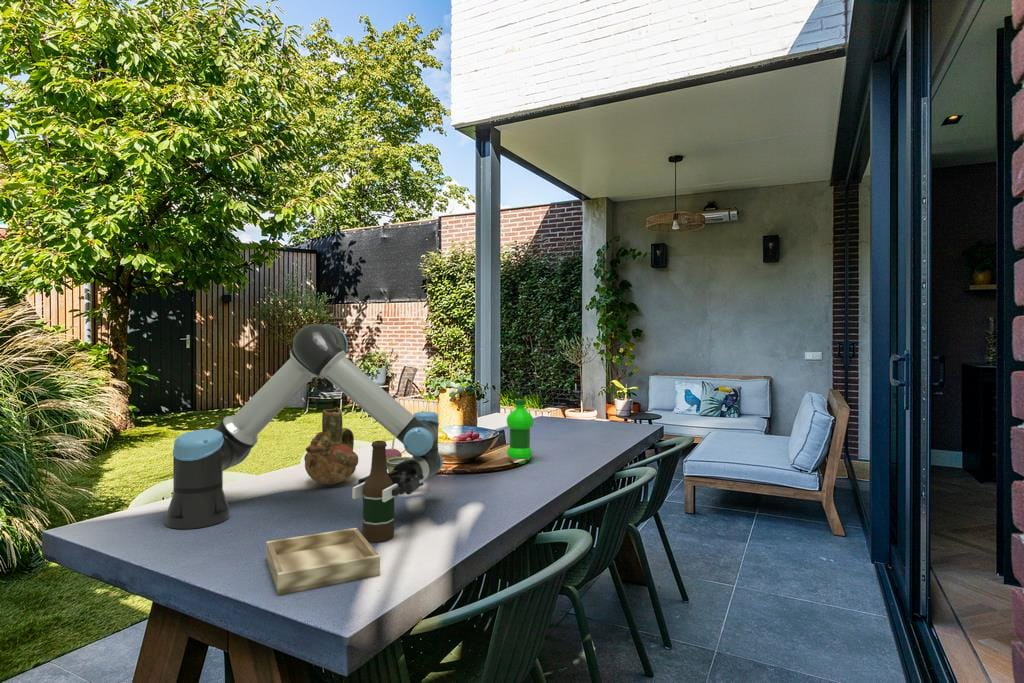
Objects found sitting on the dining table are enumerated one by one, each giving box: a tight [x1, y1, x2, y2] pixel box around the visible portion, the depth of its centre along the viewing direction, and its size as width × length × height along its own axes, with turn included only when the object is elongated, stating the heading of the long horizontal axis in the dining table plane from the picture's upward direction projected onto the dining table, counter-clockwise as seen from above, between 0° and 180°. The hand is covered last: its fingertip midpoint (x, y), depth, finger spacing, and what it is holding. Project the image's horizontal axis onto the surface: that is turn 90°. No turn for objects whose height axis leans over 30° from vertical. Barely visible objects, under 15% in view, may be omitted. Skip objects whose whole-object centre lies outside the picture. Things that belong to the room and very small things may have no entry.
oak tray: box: [265, 527, 381, 596], centre depth 124 cm, size 20×20×4 cm
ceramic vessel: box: [303, 408, 359, 485], centre depth 192 cm, size 17×26×25 cm, turn 170°
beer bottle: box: [362, 440, 395, 544], centre depth 142 cm, size 8×8×24 cm
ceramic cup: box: [387, 456, 413, 494], centre depth 184 cm, size 13×10×10 cm
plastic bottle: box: [506, 398, 534, 465], centre depth 227 cm, size 10×10×25 cm
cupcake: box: [386, 437, 403, 470], centre depth 217 cm, size 9×8×12 cm
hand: (368, 494), depth 138 cm, fingers closed on beer bottle, 7 cm apart
